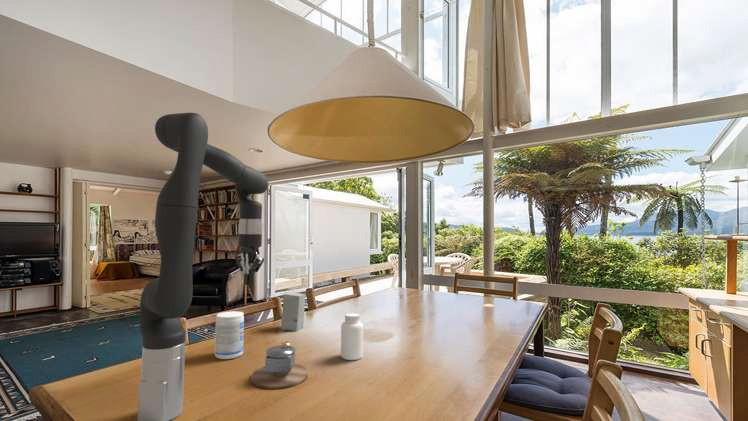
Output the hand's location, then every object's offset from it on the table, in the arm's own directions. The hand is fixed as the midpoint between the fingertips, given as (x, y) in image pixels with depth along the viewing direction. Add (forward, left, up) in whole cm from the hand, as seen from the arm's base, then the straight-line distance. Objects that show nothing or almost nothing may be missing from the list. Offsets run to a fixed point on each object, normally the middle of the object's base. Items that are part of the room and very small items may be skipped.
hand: (248, 285), depth 120 cm
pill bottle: (+12, -34, -27) cm, 45 cm away
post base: (-6, -13, -27) cm, 31 cm away
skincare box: (+46, -5, -27) cm, 54 cm away
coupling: (-4, -13, -24) cm, 27 cm away
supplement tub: (+11, +10, -27) cm, 31 cm away
